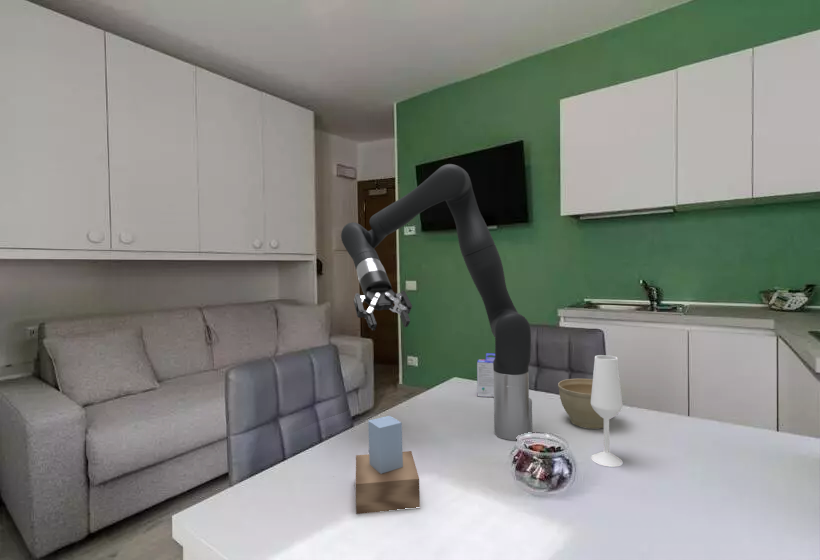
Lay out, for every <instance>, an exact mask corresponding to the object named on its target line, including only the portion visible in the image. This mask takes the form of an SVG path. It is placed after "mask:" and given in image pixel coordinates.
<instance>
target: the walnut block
mask: <svg viewBox="0 0 820 560" xmlns="http://www.w3.org/2000/svg"><path fill="white" fill-rule="evenodd" d="M402 452H403V467H401V468H398V469H395V470H392V471H389V472H385V473H382V474H380V473H379V472H378V471H377V470H376V469H375V468H373V467H372V466H371V465H370V462H369V453H367V454H356V455H355V502H356V503H355V505H356V506H355V514H356V515H360V514H372V513H381V512H380V511H384V512H390V511H389V510H395V511H398V510H397V509H405V508H416V507H420V508H421V500H420V499H421V497H420V477H419V473H418V469H417V467H416V463H415V462H416V461H415V460H414V459H415V458H414V455H413V452H412V450H407V451H405V450H404V451H402ZM416 509H417V508H416ZM405 510H406V509H405Z"/></svg>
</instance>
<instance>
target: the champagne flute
mask: <svg viewBox="0 0 820 560" xmlns="http://www.w3.org/2000/svg"><path fill="white" fill-rule="evenodd" d="M618 360H619V359H618V357H617V356H613V355H607V354H605V355H604V354H603V355H602V354H598V355H595V356H594V363H593V373H592V374H593V375H592V379H593V382H592V393H591V406H592V408H593V409H594V410H595V412H596V413H597V414H598V415H600V416H601V417H602V418H604V428H603V451H600V452H596V453H594V454H592V455H590V459H591V460H592V461H593V462H594V463H596V464H598V465H600V466H605V467H610V468H611V467H614V468H617V467H620V466H622V465H623V464H624V463H623V460H622V459H621V458H620V457H618V456H617V455H615V454H614V453H612V452H610V420H611V419H613V418H614V417H616V416H617V415H618V414H619V413H620V412H621V411H622V409H623V406H624V405H623V397H622V389H621V388H622V386H621V379H620V378H621V377H620V369H619V361H618Z"/></svg>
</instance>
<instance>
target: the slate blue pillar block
mask: <svg viewBox="0 0 820 560" xmlns="http://www.w3.org/2000/svg"><path fill="white" fill-rule="evenodd" d="M402 424H403V423H402V421H399V419H396V418H394V417H392V416H391V415H387V416H382V417H378V418H373V419H370V420H369V419H368V421H367V427H368V430H367V431H368V454H369V462H370V465H371V466H372V467H373V468H375V469H376V470H377V471H378V472H379V473H380V474H382V473H385V472H389V471H392V470H395V469H398V468H401V467H403V452H404V451H403V427H402Z"/></svg>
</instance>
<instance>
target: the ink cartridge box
mask: <svg viewBox="0 0 820 560" xmlns="http://www.w3.org/2000/svg"><path fill="white" fill-rule="evenodd" d="M490 356H493V357H490ZM494 359H495V352H494V353H491V352H490V353H489V352H487V353H485V359H477V362H476V376H477V377H476V379H477V382H476V383H477V385H476V386H477V387H476V388H477V389H476V390H477V397H482V398H483V397H487V398H494V372H493V361H494Z"/></svg>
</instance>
